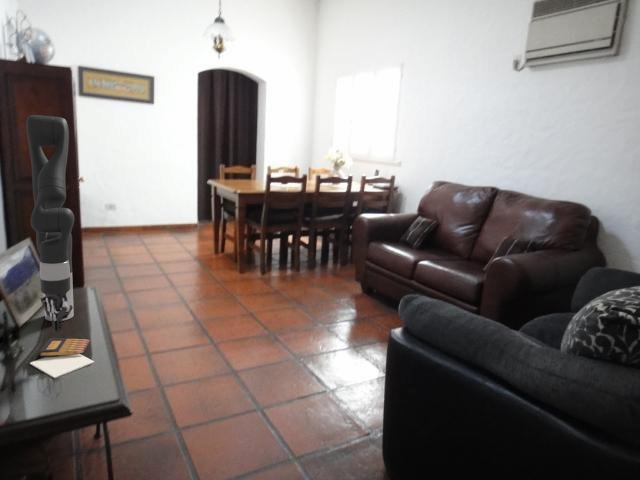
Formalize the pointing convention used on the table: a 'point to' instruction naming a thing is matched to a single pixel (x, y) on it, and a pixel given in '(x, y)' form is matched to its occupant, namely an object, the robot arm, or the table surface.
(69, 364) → the mat
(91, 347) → the table surface
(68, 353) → the ammunition clip
